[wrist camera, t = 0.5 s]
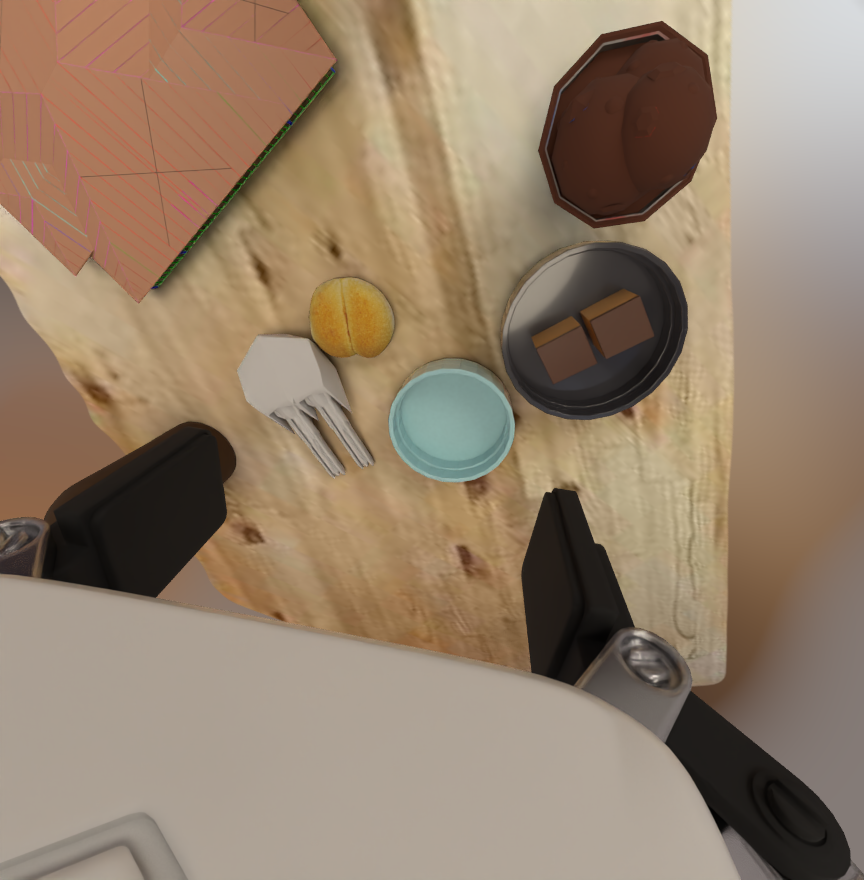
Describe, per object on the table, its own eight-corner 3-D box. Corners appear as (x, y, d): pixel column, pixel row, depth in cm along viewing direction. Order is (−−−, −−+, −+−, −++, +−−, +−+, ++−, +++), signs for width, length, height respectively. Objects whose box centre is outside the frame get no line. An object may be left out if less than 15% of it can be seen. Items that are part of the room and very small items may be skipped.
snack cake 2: (579, 311, 41) (590, 321, 36) (623, 288, 39) (639, 295, 35) (594, 346, 42) (606, 359, 38) (637, 324, 41) (654, 336, 36)
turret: (327, 468, 56) (317, 492, 52) (232, 342, 46) (211, 361, 42) (390, 447, 54) (385, 470, 50) (304, 308, 43) (289, 324, 39)
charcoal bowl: (473, 299, 42) (471, 306, 38) (636, 202, 36) (653, 199, 33) (540, 427, 47) (544, 444, 44) (690, 360, 42) (709, 373, 38)
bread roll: (398, 354, 45) (391, 365, 42) (321, 353, 46) (308, 364, 43) (393, 275, 41) (385, 279, 38) (309, 276, 43) (294, 281, 39)
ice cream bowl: (640, 41, 31) (752, -92, 18) (670, 192, 36) (779, 172, 22) (510, 119, 35) (525, 53, 21) (552, 249, 39) (586, 261, 26)
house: (-46, 121, 40) (-164, 98, 32) (120, -266, 27) (-9, -440, 20) (147, 313, 47) (86, 329, 39) (349, 73, 34) (313, 33, 27)
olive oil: (163, 406, 52) (-70, 537, 30) (243, 431, 53) (69, 578, 31) (166, 471, 57) (-32, 624, 35) (239, 494, 58) (87, 658, 36)
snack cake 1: (531, 337, 42) (536, 349, 38) (571, 315, 41) (581, 325, 37) (546, 369, 44) (553, 384, 39) (586, 349, 42) (597, 363, 38)
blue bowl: (373, 391, 48) (364, 405, 44) (477, 334, 43) (476, 344, 40) (433, 479, 53) (429, 498, 49) (532, 435, 48) (535, 453, 44)
